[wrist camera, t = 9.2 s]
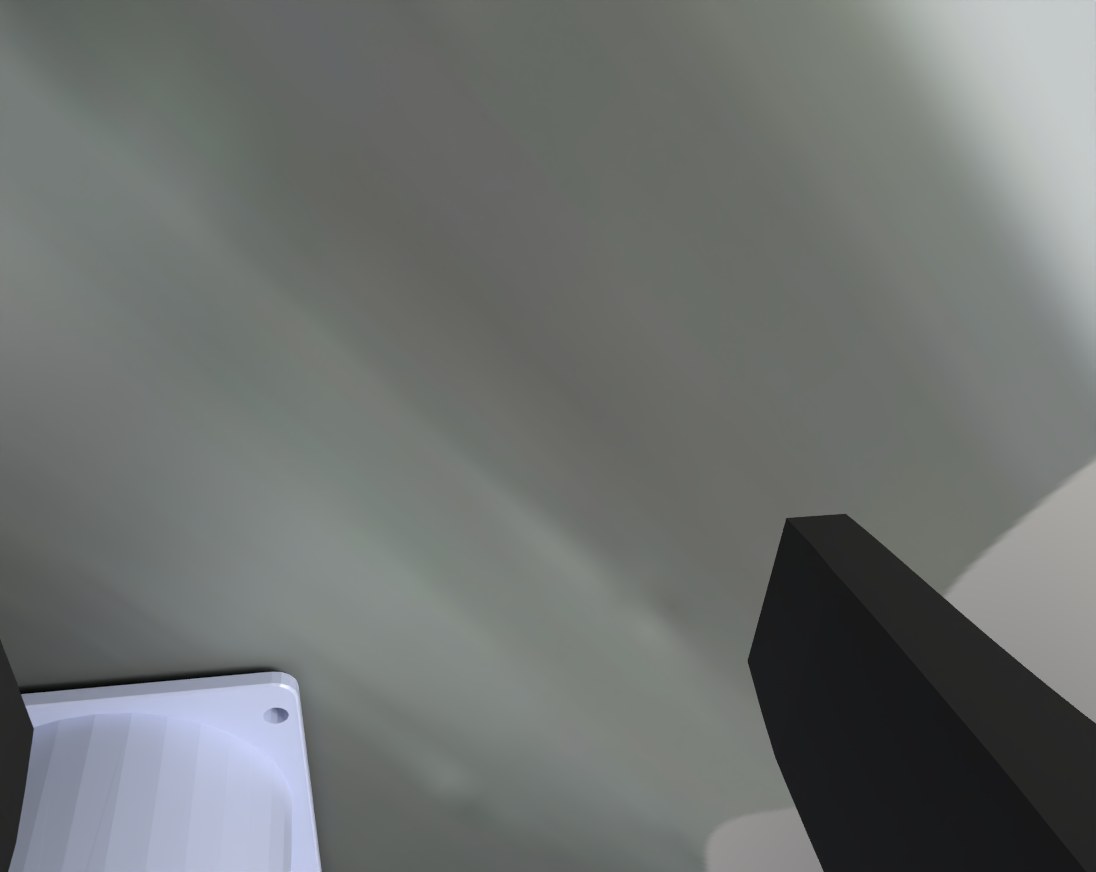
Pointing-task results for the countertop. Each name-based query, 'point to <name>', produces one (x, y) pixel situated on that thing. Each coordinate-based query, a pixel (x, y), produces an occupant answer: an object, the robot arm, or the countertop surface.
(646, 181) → the countertop surface
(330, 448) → the countertop surface
